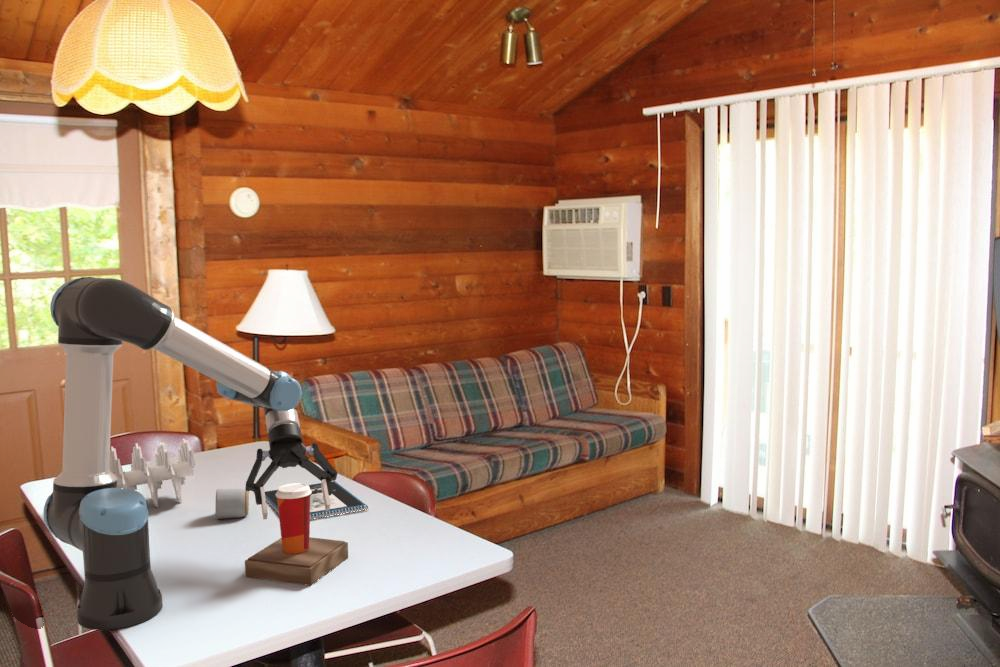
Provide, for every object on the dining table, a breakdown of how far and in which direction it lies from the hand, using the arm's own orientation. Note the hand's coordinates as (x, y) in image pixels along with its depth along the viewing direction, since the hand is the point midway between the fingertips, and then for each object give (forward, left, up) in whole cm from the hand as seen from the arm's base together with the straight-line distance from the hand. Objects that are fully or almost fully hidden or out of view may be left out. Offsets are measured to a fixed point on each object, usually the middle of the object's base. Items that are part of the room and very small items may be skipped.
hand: (297, 512), depth 187 cm
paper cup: (-2, 0, -8) cm, 8 cm away
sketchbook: (+40, +20, -13) cm, 47 cm away
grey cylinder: (+25, +35, -12) cm, 44 cm away
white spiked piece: (+24, +62, -12) cm, 68 cm away
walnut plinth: (-2, -1, -12) cm, 12 cm away
